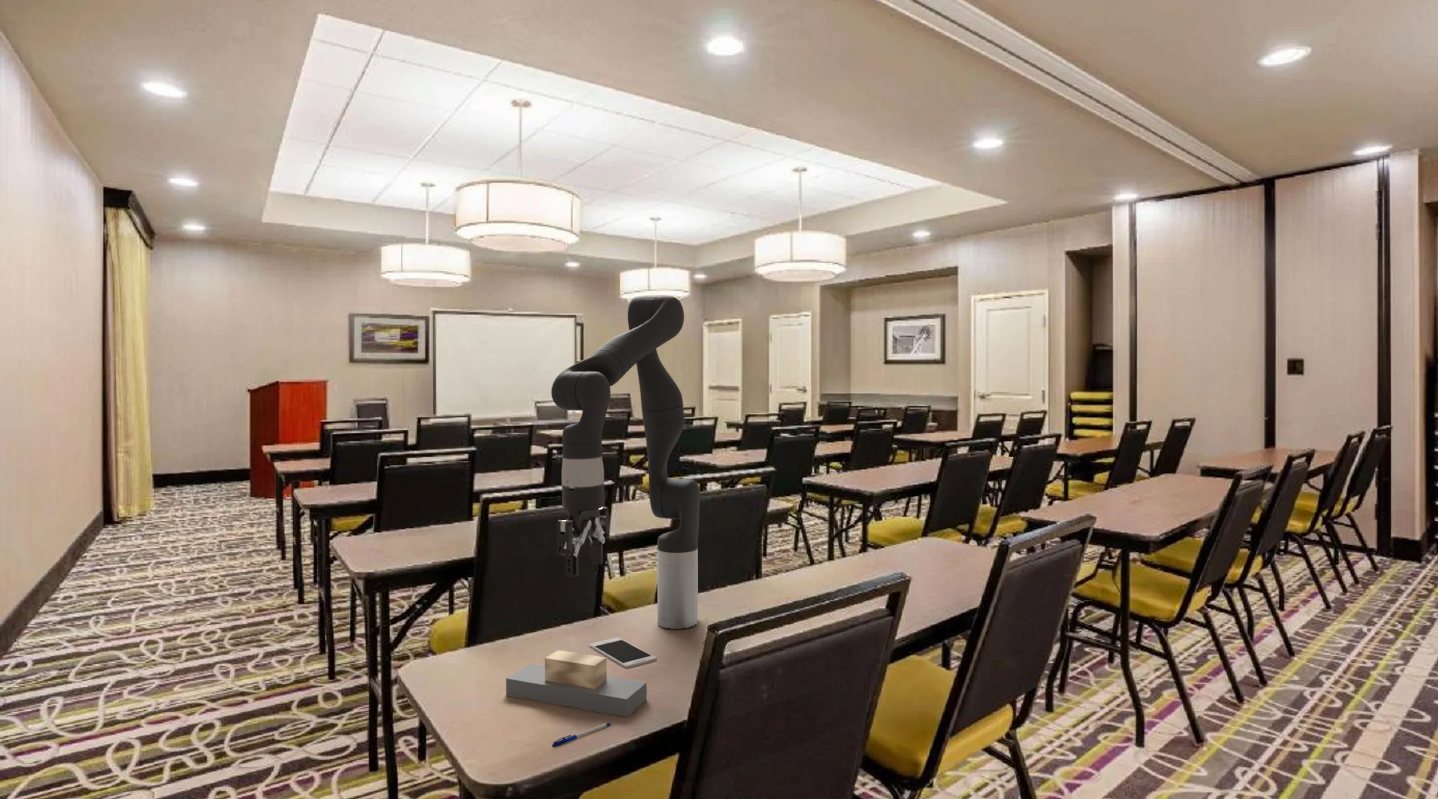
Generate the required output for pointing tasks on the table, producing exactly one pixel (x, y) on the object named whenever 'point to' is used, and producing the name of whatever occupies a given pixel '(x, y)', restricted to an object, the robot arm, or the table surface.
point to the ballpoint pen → (579, 735)
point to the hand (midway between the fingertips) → (584, 569)
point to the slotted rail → (578, 692)
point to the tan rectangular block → (576, 669)
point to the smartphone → (622, 652)
